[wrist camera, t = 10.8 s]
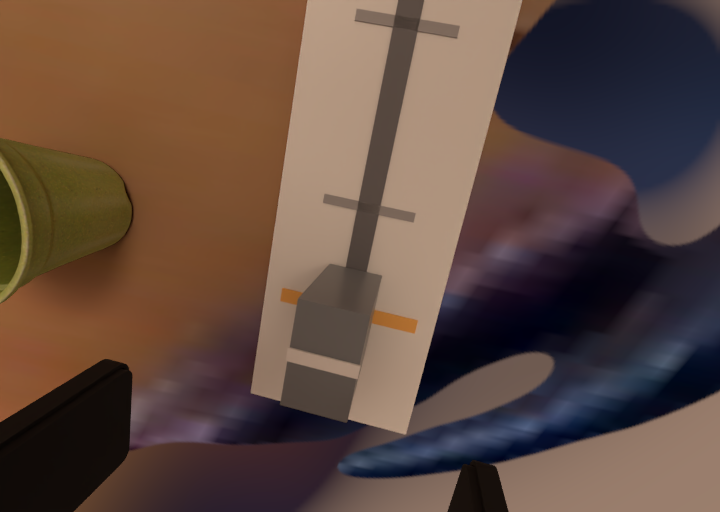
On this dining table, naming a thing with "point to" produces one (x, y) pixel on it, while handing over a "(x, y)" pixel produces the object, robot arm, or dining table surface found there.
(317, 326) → the fader
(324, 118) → the console
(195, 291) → the dining table surface
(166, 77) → the dining table surface
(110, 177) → the plant pot
